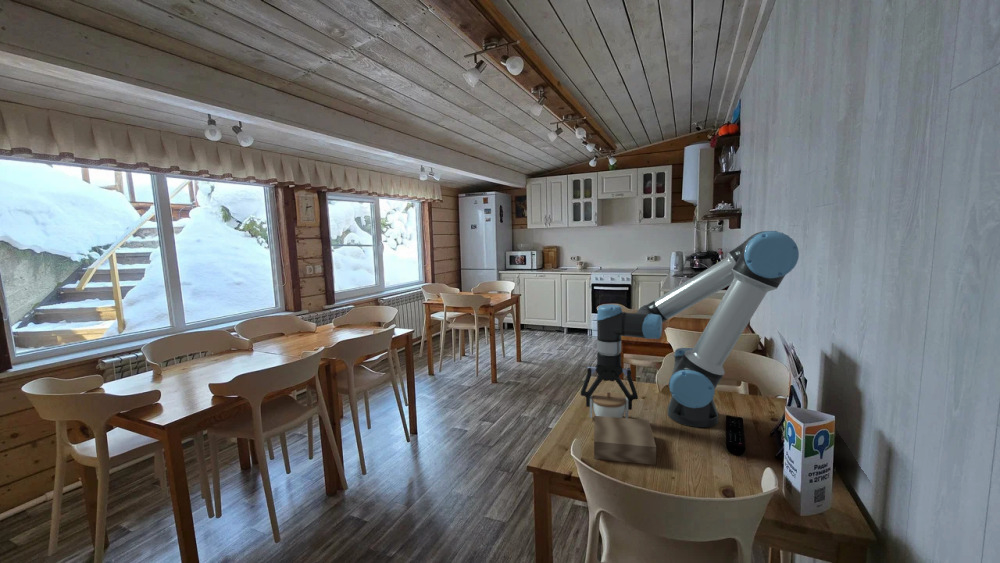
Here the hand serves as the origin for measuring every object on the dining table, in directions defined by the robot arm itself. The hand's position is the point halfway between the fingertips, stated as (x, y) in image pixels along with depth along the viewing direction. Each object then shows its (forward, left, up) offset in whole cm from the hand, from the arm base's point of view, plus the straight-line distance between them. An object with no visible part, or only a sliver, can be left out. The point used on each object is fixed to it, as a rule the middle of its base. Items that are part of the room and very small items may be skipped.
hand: (608, 417), depth 134 cm
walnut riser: (-4, +16, -1) cm, 17 cm away
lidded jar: (0, 0, -1) cm, 1 cm away
